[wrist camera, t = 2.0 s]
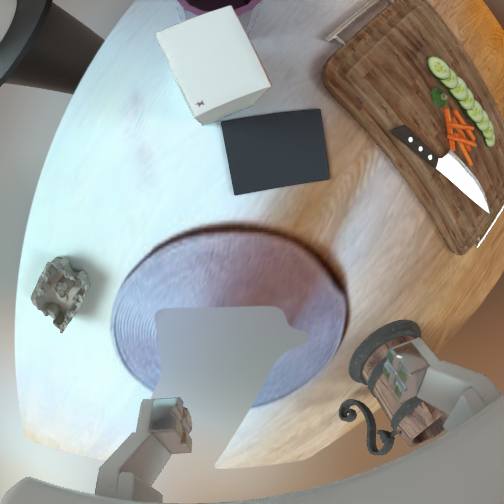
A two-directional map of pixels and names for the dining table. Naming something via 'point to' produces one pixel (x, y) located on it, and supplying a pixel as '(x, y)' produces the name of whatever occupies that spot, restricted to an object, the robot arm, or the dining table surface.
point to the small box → (214, 64)
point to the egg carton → (60, 291)
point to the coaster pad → (275, 150)
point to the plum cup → (197, 3)
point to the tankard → (390, 392)
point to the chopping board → (425, 114)
